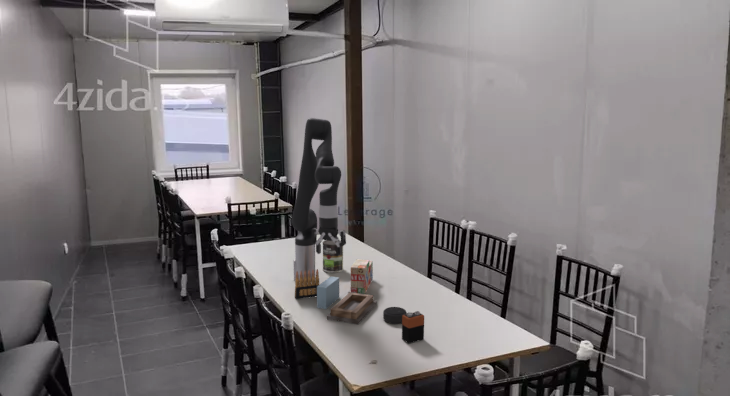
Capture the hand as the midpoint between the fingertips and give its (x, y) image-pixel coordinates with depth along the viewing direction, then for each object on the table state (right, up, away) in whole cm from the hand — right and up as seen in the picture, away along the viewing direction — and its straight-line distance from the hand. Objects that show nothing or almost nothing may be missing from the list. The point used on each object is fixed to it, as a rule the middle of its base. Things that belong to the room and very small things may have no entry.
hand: (328, 254), depth 224 cm
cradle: (+10, -22, -6) cm, 25 cm away
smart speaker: (+26, -24, -14) cm, 38 cm away
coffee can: (-1, -13, +49) cm, 50 cm away
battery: (+32, -27, -32) cm, 52 cm away
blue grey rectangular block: (0, -20, +3) cm, 21 cm away
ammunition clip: (-10, -19, +10) cm, 24 cm away
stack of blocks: (+14, -17, +24) cm, 33 cm away
